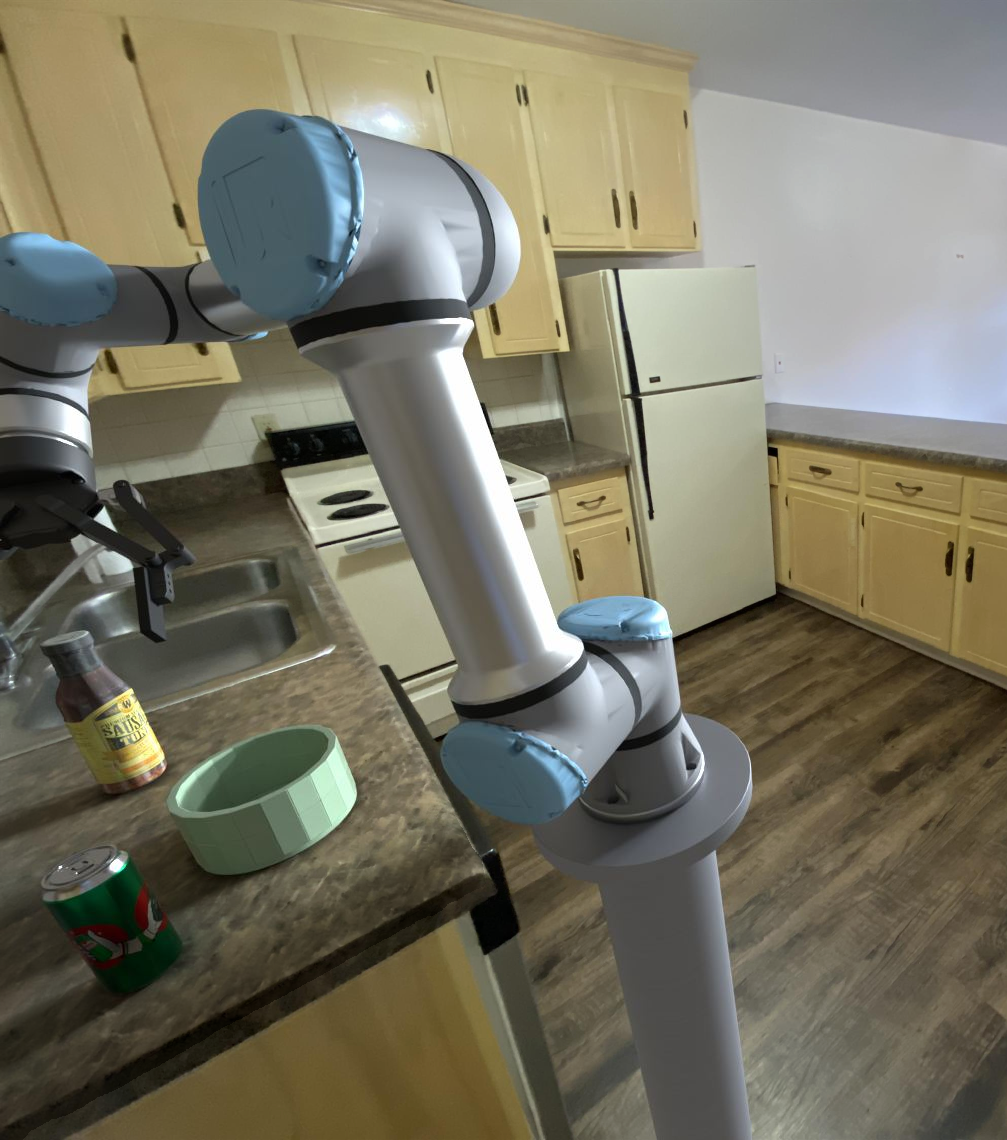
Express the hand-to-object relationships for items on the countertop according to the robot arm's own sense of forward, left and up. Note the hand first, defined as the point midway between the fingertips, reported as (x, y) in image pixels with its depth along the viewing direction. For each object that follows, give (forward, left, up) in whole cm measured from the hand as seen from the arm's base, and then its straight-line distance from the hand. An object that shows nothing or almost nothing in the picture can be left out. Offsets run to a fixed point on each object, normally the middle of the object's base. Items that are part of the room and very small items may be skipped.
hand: (48, 661), depth 52 cm
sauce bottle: (+9, -25, -26) cm, 37 cm away
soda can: (0, +10, -26) cm, 28 cm away
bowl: (-8, -5, -26) cm, 27 cm away
